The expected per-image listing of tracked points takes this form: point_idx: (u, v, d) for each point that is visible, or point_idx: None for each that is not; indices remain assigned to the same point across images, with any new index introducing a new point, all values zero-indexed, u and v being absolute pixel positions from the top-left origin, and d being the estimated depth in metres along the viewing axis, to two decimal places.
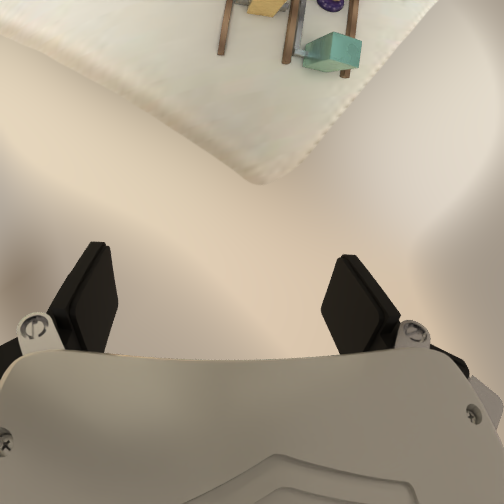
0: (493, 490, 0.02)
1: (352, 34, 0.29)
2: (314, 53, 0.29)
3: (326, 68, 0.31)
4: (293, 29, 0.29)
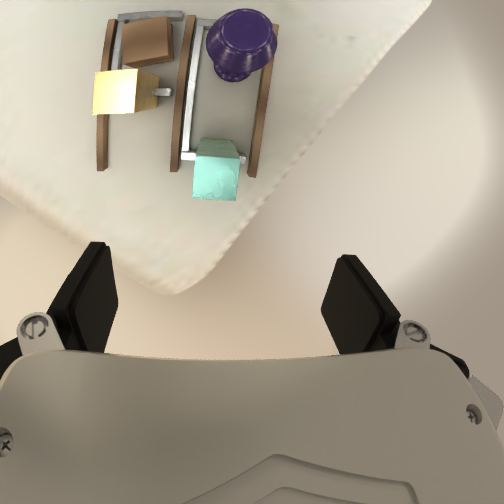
0: (493, 490, 0.02)
1: (261, 114, 0.28)
2: None
3: None
4: (178, 125, 0.27)
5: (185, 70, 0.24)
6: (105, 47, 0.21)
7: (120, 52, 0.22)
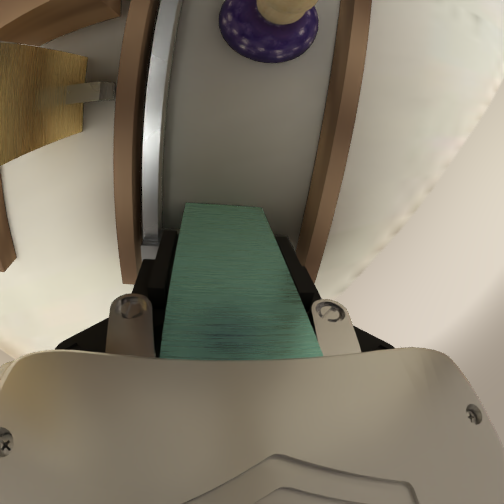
0: (493, 490, 0.02)
1: (339, 151, 0.11)
2: None
3: None
4: (126, 178, 0.10)
5: (141, 30, 0.08)
6: None
7: None
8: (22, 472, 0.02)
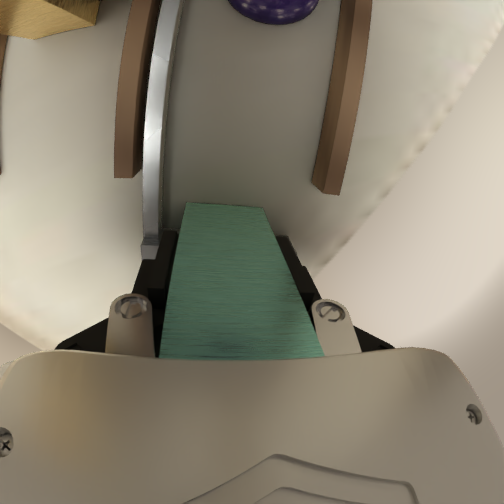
0: (493, 490, 0.02)
1: (358, 39, 0.09)
2: None
3: None
4: (136, 50, 0.08)
5: None
6: None
7: None
8: (22, 472, 0.02)
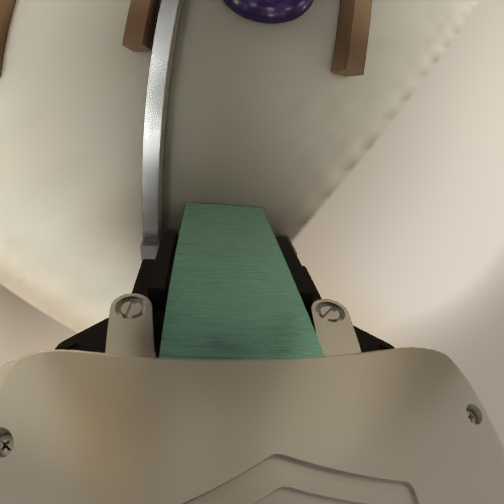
0: (493, 490, 0.02)
1: None
2: None
3: None
4: None
5: None
6: None
7: None
8: (22, 472, 0.02)
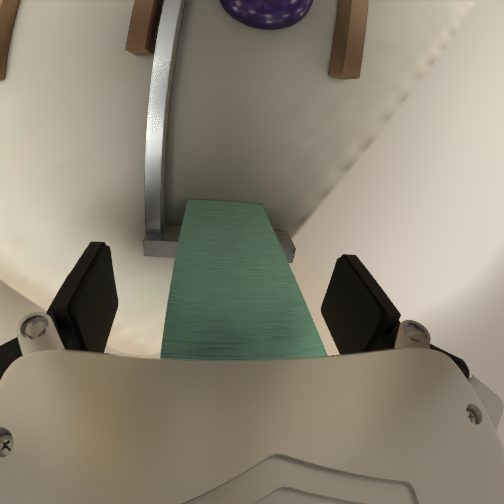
0: (493, 490, 0.02)
1: None
2: None
3: None
4: None
5: None
6: None
7: None
8: (22, 472, 0.02)
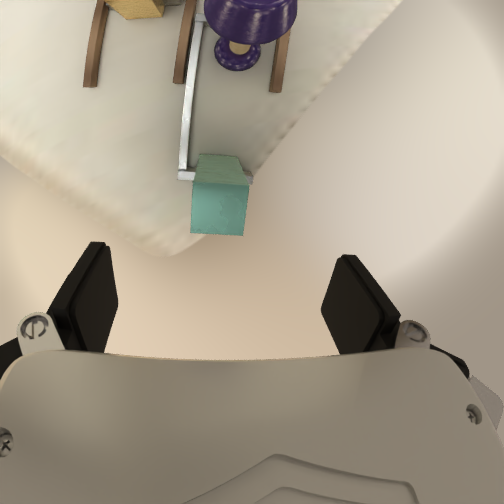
0: (493, 490, 0.02)
1: None
2: None
3: None
4: (186, 29, 0.18)
5: None
6: None
7: None
8: (22, 472, 0.02)
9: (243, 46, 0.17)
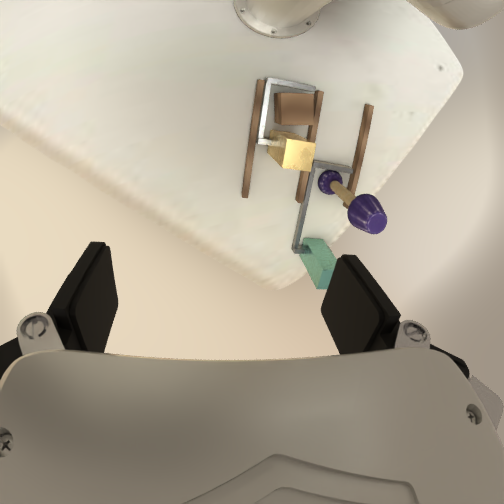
0: (493, 490, 0.02)
1: (358, 168, 0.43)
2: (308, 261, 0.47)
3: None
4: (307, 171, 0.42)
5: (315, 133, 0.39)
6: (257, 102, 0.36)
7: (267, 108, 0.37)
8: (22, 472, 0.02)
9: None
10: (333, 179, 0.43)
